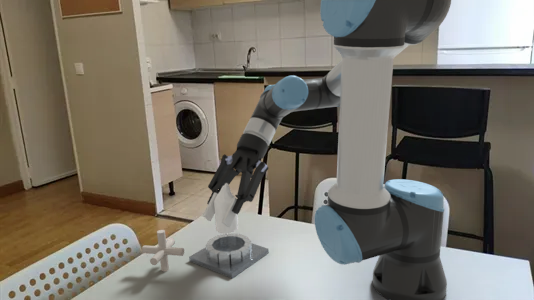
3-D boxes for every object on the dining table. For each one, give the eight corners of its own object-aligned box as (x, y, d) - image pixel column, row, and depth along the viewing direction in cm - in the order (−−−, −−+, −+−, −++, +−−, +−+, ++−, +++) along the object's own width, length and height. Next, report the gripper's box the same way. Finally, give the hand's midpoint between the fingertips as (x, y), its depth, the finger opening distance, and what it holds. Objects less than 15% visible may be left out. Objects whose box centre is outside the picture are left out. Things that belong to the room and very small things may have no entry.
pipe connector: (176, 282, 99) (172, 242, 96) (136, 279, 101) (130, 240, 98) (192, 260, 108) (188, 223, 106) (155, 257, 110) (150, 221, 108)
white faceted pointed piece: (216, 178, 108) (238, 178, 107) (220, 222, 111) (241, 223, 110) (209, 186, 102) (232, 187, 101) (212, 233, 105) (235, 234, 104)
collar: (268, 253, 111) (268, 239, 110) (232, 278, 100) (231, 263, 99) (227, 239, 119) (226, 226, 118) (189, 261, 108) (188, 247, 107)
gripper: (291, 152, 109) (253, 237, 101) (235, 142, 120) (197, 219, 112) (278, 136, 104) (237, 224, 96) (221, 127, 115) (180, 206, 107)
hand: (216, 221), depth 104 cm, fingers closed on white faceted pointed piece, 5 cm apart
